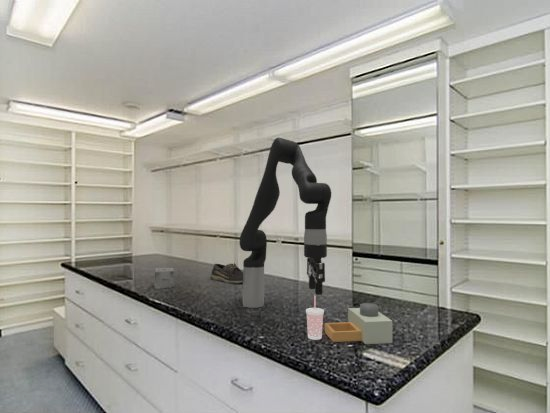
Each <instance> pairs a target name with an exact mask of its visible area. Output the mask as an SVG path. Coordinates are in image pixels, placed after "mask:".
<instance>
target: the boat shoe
mask: <svg viewBox="0 0 550 413" xmlns="http://www.w3.org/2000/svg"><path fill="white" fill-rule="evenodd" d="M210 279H211V280H212V281H219V282H220V281H221V282H223V283H226V284H232V285H233V284H234V285H235V284H243V271H242V270H241V269H240V268H239V267H238V265H237V263H235V262H233V263H228V264H226V265H225V264H221V263H214V264H213V268H212V270H211V274H210Z"/></svg>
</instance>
